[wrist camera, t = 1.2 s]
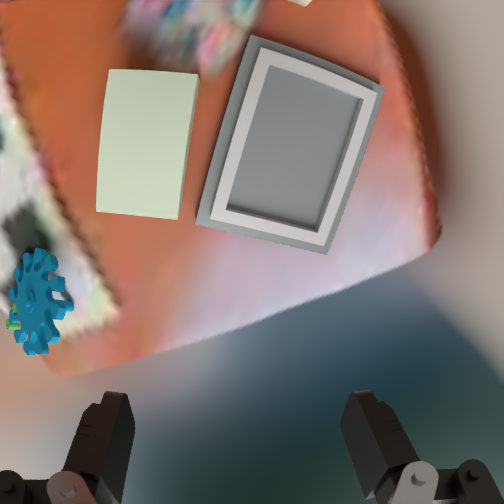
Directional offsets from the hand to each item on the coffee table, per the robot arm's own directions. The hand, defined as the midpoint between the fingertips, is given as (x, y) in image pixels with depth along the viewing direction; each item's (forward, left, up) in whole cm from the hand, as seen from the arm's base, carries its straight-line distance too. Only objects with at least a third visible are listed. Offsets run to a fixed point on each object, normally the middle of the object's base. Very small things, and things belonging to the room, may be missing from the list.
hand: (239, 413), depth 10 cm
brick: (-7, +6, -19) cm, 21 cm away
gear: (-16, -10, -19) cm, 27 cm away
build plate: (+4, +8, -19) cm, 21 cm away
